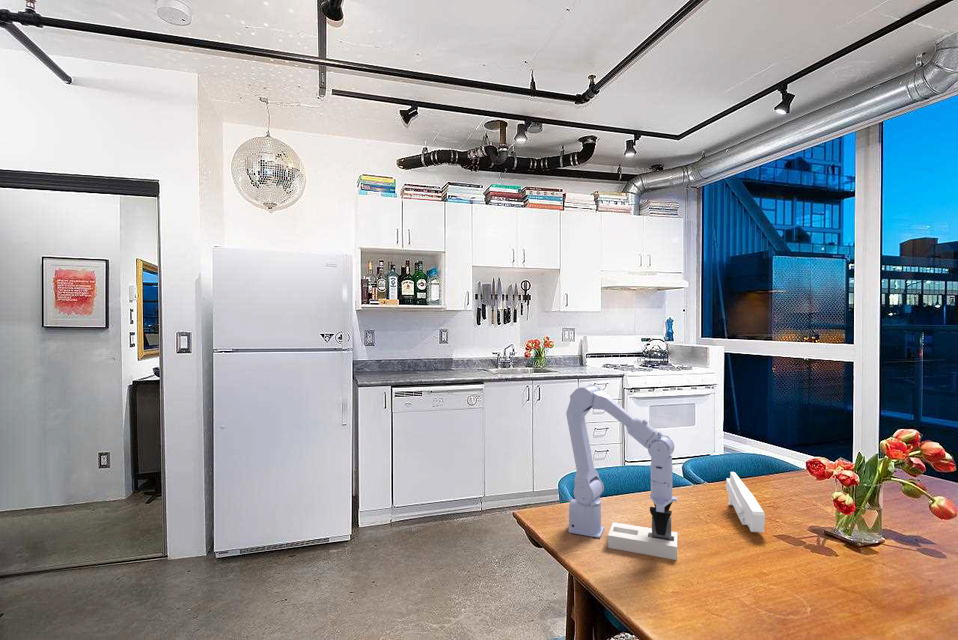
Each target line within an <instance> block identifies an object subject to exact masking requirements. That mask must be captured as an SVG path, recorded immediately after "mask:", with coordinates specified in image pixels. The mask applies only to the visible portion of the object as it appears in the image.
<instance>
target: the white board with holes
mask: <svg viewBox="0 0 958 640" xmlns="http://www.w3.org/2000/svg"><path fill="white" fill-rule="evenodd" d="M678 537H679V536H678V532H677V531H672V530H671V541H669V540H663V539H657V538H652V527H646V526H640V525H639V526H638V525H633V524H627V523H621V522H616V521H615V522H613V521H612V524H611V526H610V529H609V531H608V534H607V548H608V549H613V550H619V551H624V552H629V553H635V554H641V555H647V556H652V557H657V558H661V559H669V560H675V561H678V548H679V547H678V546H679V545H678V541H679V539H678Z"/></svg>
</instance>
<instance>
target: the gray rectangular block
mask: <svg viewBox="0 0 958 640" xmlns="http://www.w3.org/2000/svg"><path fill="white" fill-rule="evenodd" d="M651 528H652V538H657V539H663V540H669V541H671V531H672V516H670V518H669V520H668V523H667V528H666V533H665V536H664V535H658V534H657V533H656V529H655V523H654V519H653V517H652V516H651Z"/></svg>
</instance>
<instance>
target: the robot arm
mask: <svg viewBox="0 0 958 640" xmlns="http://www.w3.org/2000/svg"><path fill="white" fill-rule="evenodd" d="M590 410H601V411H602V410H603V411H604V412H606V413H608V414H609V415H610V416H612V417H613V418H614V419H615V420H617V421H618V422H619V423H620V424H622V425H623V426H625V427H626V431H627V434H629V436H631V437H632V438H633V439H635V440H636V441H637V442H638V443H639V444H640V445H642V446H643V448H645V449H647V452H648V454H649V456H650V495H649V498H650V500H651V501H652V502H653V505H654V506H650V507H649V513H650V514H651V518H652V517H653V519H654V523H655V529H656V533H657V534H658V535H664V536H665V533H666V528H667V523H668V520H669V518H670V517H672V514H673V510H670V508H671V506H672V505H673V503H674V502H677V501H678V497H677V496H674V495H673V456H672V454H673V453H674V450H675V444H674V442H673V440H672V439H671V438H670V437H669V436H668V435H665V434H663V433H662V432H661V431H657V430H656V429H655V428H653V427H652V426H651V425H650V424H649V421H648V420H647V419H642V418H641V417H634V416H632V415H631V414H630V413H629V412H628V411H627V410H626V409H624V408H623V407H622V406H621V405H620V404H619V403H617V402H616V401H615V399H613V398H612V397H611V396H610V395H609V394H608V393H607V392H606V391H605V390H603V389H602V388H601V387H599V386H597V385H595V384H589V385H586V386H583V387H581V386H580V387H578V388H576V389H575V390H574V391H573V392H572V393H571V394H570V395H569V404H568V406H567V408H566V412H565V414H566V420H567V425H568V431H569V436H570V442H571V447H572V448H571V449H572V452H573V458H574V462H575V463H574V464H575V469H576V473H575V476H574V480H573V482H574V488H573V496H574V499H570V501H569V508H568V533H570V534H574V535H575V534H576V535H582V536H585V537H592V538H598V539H600V538H601V536H602V535H603V534H602V533H603V532H604V530H605V526H603V525H602V500H601V499H602V498H601V495H602V494H603V493H604V490H605V487H604V483H603V481H602V479H600V476H599V471H597V469H596V468H595V466H594V461H593V456H592V450H591V445H590V440H589V434H588V429H587V424H586V418H585V417H586V416H587V414H588V413H589V412H590Z"/></svg>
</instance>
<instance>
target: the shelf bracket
mask: <svg viewBox="0 0 958 640" xmlns="http://www.w3.org/2000/svg"><path fill="white" fill-rule="evenodd" d="M725 480H726V481H725V482H726V483H725V489H726V491H727V494H728V506H733V508H734V510H735V513H736V514H737V517H738V519H739V521H740V523H741V525H742V526H747V528H749V530H750V532H751V533H764V532H765V521H766V514H765V511H764V510H763V508H762V506H761V505H760V504H759V502H758V501H757V499H756V498H755V496H754V494H753V493H752V492H751V491H750V489H748V487H747V486H746V484H745V483H744V482H743V481H742V480H741V478H740V476H738V474H737V473H736V472H735V471H730V476H729V478H728V477H727V478H726V479H725Z"/></svg>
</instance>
